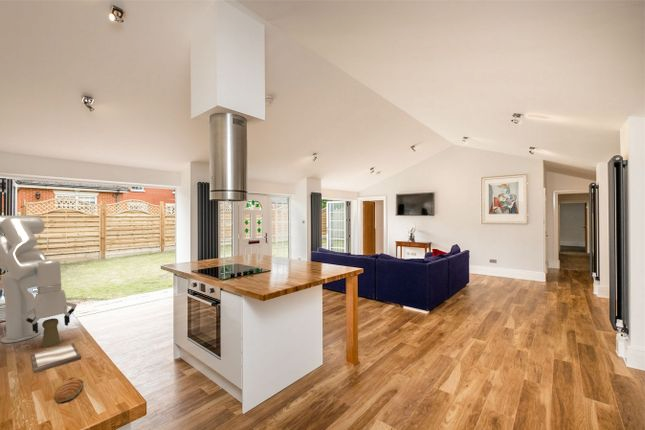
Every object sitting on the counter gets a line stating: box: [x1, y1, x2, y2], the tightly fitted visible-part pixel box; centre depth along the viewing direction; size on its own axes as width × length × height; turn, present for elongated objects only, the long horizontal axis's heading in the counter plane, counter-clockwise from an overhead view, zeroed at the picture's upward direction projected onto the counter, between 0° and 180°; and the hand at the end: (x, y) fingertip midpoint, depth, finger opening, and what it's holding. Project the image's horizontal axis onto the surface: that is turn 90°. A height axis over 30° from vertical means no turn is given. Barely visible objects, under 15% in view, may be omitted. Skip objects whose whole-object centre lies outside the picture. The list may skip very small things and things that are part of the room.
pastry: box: [54, 376, 84, 404], centre depth 92 cm, size 9×7×4 cm
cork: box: [41, 317, 61, 349], centre depth 128 cm, size 6×6×11 cm
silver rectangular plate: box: [30, 343, 82, 374], centre depth 116 cm, size 18×13×1 cm
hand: (51, 328), depth 127 cm, fingers open, 9 cm apart
